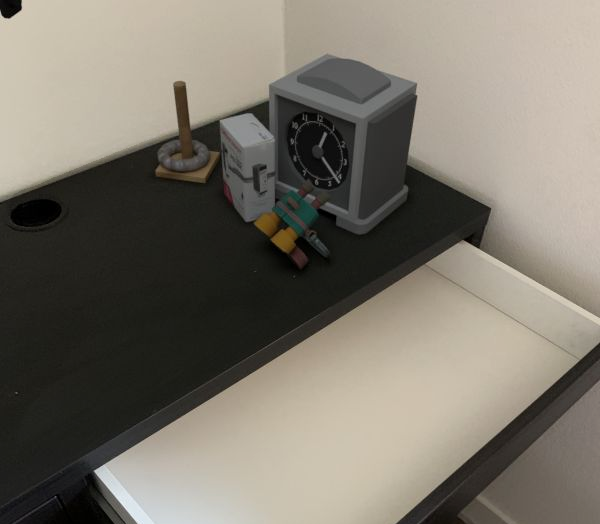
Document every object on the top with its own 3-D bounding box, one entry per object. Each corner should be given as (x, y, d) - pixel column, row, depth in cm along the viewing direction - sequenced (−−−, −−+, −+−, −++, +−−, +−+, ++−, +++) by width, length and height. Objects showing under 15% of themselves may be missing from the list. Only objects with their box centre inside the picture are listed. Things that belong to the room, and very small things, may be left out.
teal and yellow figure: (277, 251, 94) (241, 211, 86) (323, 205, 93) (292, 160, 85) (314, 287, 89) (280, 248, 81) (363, 238, 88) (334, 194, 80)
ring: (151, 170, 102) (149, 159, 100) (168, 145, 107) (167, 134, 106) (200, 177, 101) (199, 166, 100) (216, 151, 106) (215, 140, 105)
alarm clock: (261, 191, 100) (258, 66, 87) (312, 157, 107) (317, 36, 94) (362, 236, 93) (376, 108, 80) (410, 196, 100) (430, 72, 87)
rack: (155, 176, 102) (142, 92, 93) (173, 151, 108) (162, 68, 98) (205, 183, 102) (197, 98, 92) (220, 157, 107) (214, 75, 97)
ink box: (222, 194, 100) (217, 117, 91) (251, 186, 101) (249, 110, 92) (246, 224, 95) (242, 146, 86) (276, 216, 96) (276, 138, 87)
